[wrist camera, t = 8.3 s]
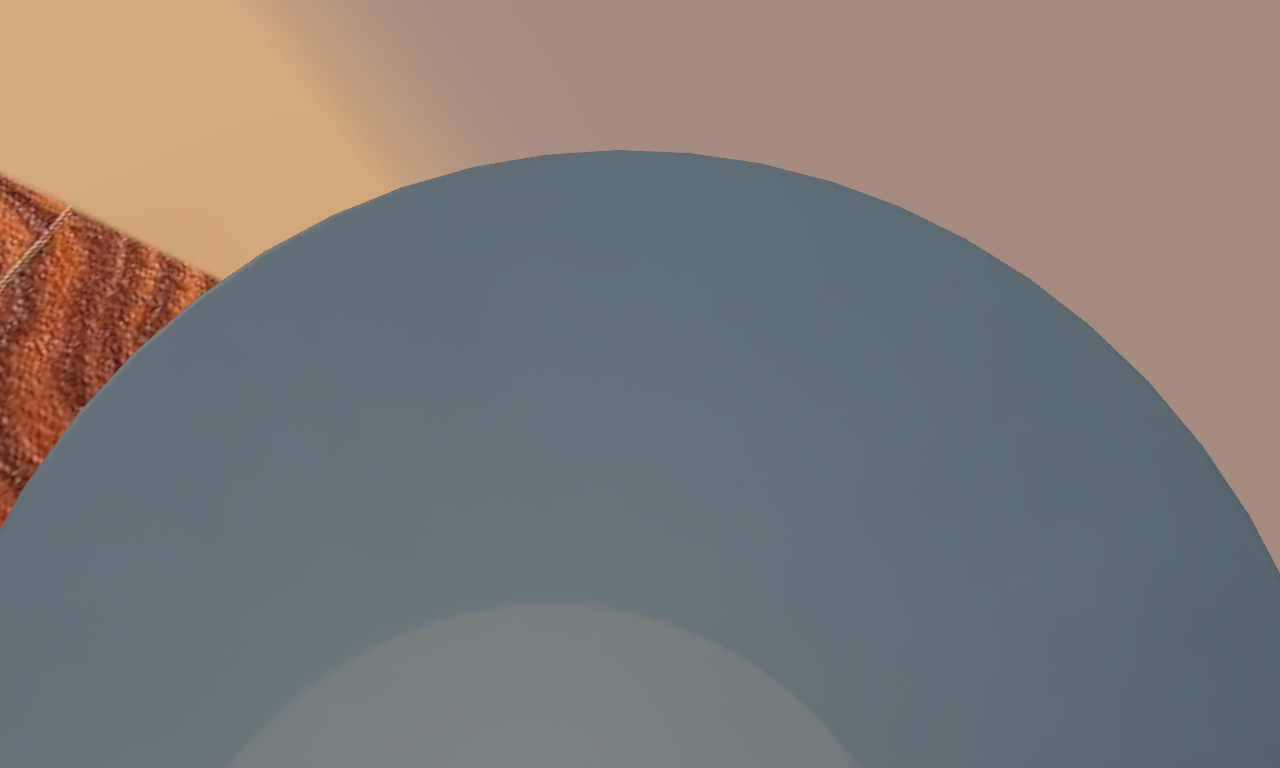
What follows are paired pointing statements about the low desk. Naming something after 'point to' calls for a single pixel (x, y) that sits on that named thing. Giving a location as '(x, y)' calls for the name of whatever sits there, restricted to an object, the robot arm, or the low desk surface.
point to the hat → (632, 504)
